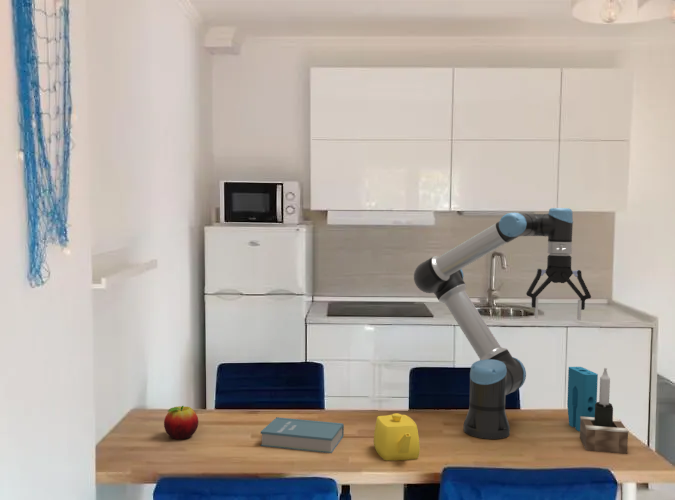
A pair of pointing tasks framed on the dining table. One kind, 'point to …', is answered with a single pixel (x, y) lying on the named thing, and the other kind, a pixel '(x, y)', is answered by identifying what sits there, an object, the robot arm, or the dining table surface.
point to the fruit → (181, 422)
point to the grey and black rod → (604, 403)
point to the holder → (603, 436)
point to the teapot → (396, 437)
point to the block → (581, 395)
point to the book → (302, 435)
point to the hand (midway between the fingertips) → (557, 318)
